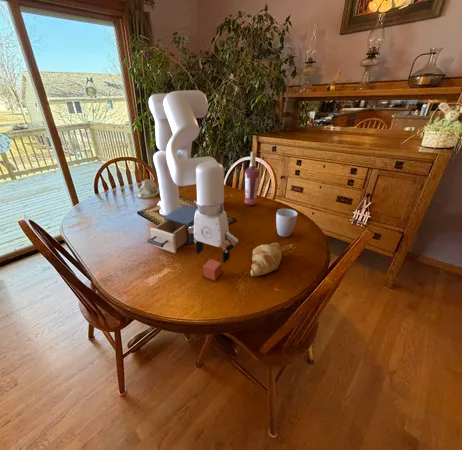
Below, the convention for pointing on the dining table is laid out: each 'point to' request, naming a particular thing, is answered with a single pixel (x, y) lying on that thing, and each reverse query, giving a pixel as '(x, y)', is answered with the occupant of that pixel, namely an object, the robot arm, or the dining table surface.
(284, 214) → the cup
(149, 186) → the ceramic model
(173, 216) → the cabinet
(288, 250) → the dining table surface
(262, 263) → the croissant
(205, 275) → the block
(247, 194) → the liquor
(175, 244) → the drawer
